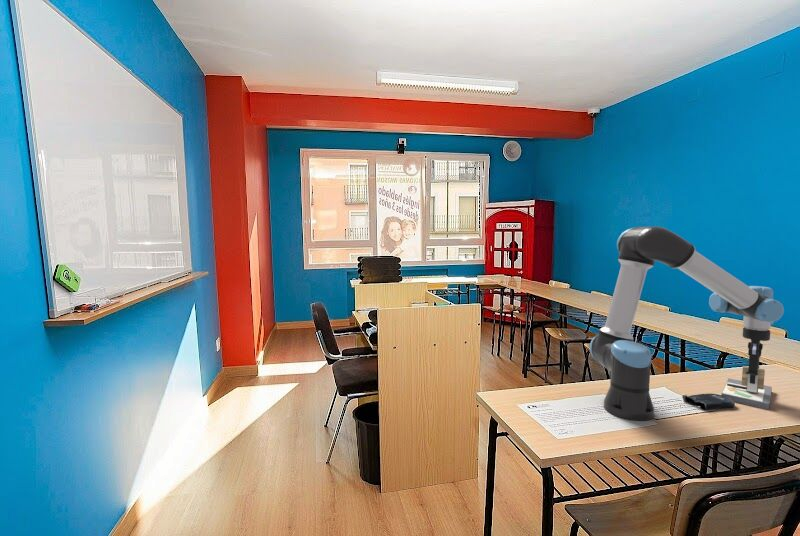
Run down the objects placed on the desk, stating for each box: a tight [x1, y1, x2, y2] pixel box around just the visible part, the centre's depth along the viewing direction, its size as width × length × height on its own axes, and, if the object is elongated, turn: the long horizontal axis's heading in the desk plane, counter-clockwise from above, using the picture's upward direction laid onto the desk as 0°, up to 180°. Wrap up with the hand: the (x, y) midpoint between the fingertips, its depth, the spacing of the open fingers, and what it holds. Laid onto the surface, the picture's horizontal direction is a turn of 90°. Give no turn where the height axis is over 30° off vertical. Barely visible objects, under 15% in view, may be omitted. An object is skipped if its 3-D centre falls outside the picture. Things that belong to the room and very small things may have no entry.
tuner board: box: [720, 377, 773, 410], centre depth 149 cm, size 22×13×2 cm, turn 135°
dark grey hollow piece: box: [681, 393, 736, 410], centre depth 141 cm, size 9×6×15 cm
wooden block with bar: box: [726, 365, 766, 394], centre depth 148 cm, size 3×10×9 cm, turn 45°
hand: (752, 389), depth 146 cm, fingers closed on wooden block with bar, 3 cm apart
